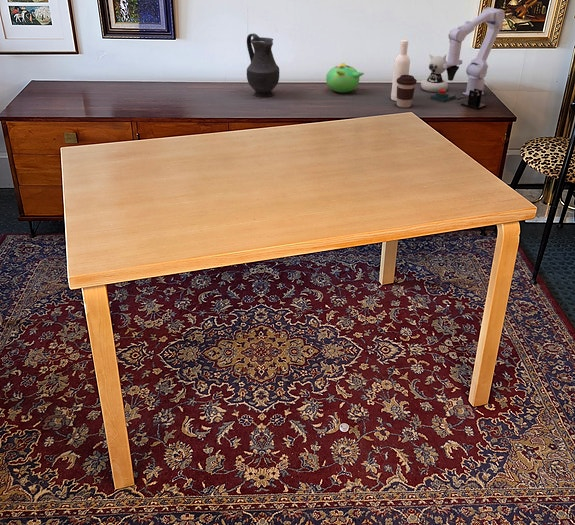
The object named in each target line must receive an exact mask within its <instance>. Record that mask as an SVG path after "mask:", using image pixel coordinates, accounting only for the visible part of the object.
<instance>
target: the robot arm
mask: <svg viewBox="0 0 575 525" xmlns="http://www.w3.org/2000/svg"><path fill="white" fill-rule="evenodd" d="M505 18H506V14H505V11H504V9H498V8H494V7H490V6H486V7H485V8H484V9H482V11H481V12H480V13H479V14H478V15H477V16H476V17H475V18H473V19H472V20H465V21H464V23H462V24H461V25H458V27H457V28H456V27H453V28H452V29H451V30H450V31H449V33H448V35H447V36H448V40H449V41H448V43H449V46H448V54H447V60H446V61H447V62H446V63H445V64H443V68H445V69H446V70H445V71H446V74H447V81H450V82H452V81H453V80H454V78H455V76H456V74H457V72H458V70H459V69H460V66H461V65H463V60H462V59H460V56H461V50H462V45H463V44H462V43H463V42H464V40H465V39H466V37H467V36H468V35H470V34H472V33H473V32H474V31H475V28H476V27H478V26H479V25H481V24H483V23H484V22H485V24H486V25H487V27H488V28H487V31H486V34H485V36H484V38H483V40H482V43H481V46H480V48H479V50H478V53H477V55H476V57H475V58H473V59H471V60H470V62H469V64H468V65H467V67H466V69H465V73H466V75H467V77H468V78H467V84H466V88H465V89H466V90H465V91H464V92H462V95H464V96H466V95H469V92H470V90H473V91H474V89H479V90H483V91H482V95H485V92H484V88H485V84H486V83H485V77H486V76H487V73H488V68H489V65H488V63H487V60H488V57H489V55H490V53H491V50H492V48H493V46H494V44H495V41H496V39H497V37H498V35H499V33H500V31H501V27H502V25H503V23H504V20H505Z"/></svg>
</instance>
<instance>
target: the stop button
mask: <svg viewBox="0 0 575 525" xmlns="http://www.w3.org/2000/svg"><path fill="white" fill-rule="evenodd" d="M446 92H447V90H445V89H440V90H439V93H440V94H446Z"/></svg>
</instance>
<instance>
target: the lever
mask: <svg viewBox="0 0 575 525" xmlns="http://www.w3.org/2000/svg"><path fill="white" fill-rule="evenodd" d="M477 92H478V95H479V91H477ZM467 98H469V95H463V96H461V97H457V98H456V101H460V100H464V99H467Z"/></svg>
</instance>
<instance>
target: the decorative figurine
mask: <svg viewBox="0 0 575 525" xmlns="http://www.w3.org/2000/svg"><path fill="white" fill-rule="evenodd" d="M447 56H448V54H445V55H444V56H441V55H436V56H434V55H432V54H429V59H430V61H429V63H428V64H429V65H428V69H429V71H430V74H429V76H428V77H427V78H425V79H423V80H422V81H421V82H420V87H421V89H422V90H423V91H425V92H429V93H436V92H437V91H439V90H440V89H445V90H446V91H447V90H448V88H449V83H448V82H447V81H446V80H444V79H443V76H442V74H443V73H444V72H446V71H447V70H446V69H445V68H443V64H445V63H446V62H447V61H448V60H446V59H447Z"/></svg>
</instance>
